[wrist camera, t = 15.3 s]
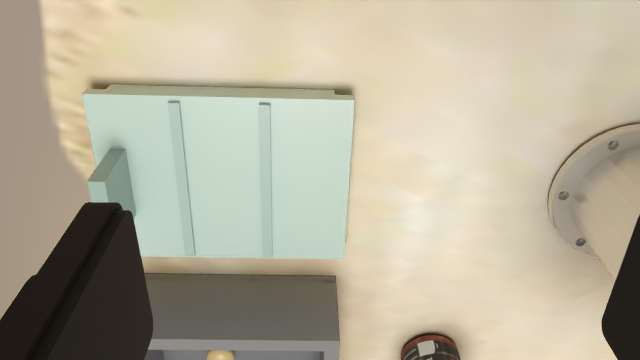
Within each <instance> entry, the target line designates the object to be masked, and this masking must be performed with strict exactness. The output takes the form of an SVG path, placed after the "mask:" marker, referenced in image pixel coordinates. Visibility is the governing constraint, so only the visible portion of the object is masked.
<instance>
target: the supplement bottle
mask: <svg viewBox="0 0 640 360" xmlns="http://www.w3.org/2000/svg"><path fill="white" fill-rule="evenodd" d="M401 360H461V359H460V356H459V353H458V349H457V347H456V345H455V344H454V343H453V342H452V341H451V340H449V339H447V338H445V337H443V336H438V335H426V336H421V337H418V338H416V339H414V340H412V341H411V342H409V343H408V344H407V345H406V346H405V347H404V349H403V351H402V354H401Z"/></svg>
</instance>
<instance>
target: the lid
mask: <svg viewBox="0 0 640 360" xmlns="http://www.w3.org/2000/svg"><path fill="white" fill-rule="evenodd" d="M82 97H83V102H84V107H85V112H86V117H87V122H88V127H89V133H90V138H91V143H92V148H93V153H94V158H95V163H96V169H95V171H94V172H93V174H92V175H91V177H90V178H89V180H88V181H87V184H88V188H89V193H90V198H91V202H118V203H120V204H121V206H122V208H123V210H129V211H131V213H132V215H133V218H134V223H135V228H136V234H137V239H138V244H139V249H140V254H141V256H146V257H214V258H282V259H344V251H345V236H346V221H347V207H348V192H349V177H350V162H351V147H352V132H353V117H354V103H355V99H354V95H335V90H328V89H287V88H245V87H204V86H162V85H121V84H110V85H109V86H108V87H107V89H86V90H85V91H84V92H83V93H82Z"/></svg>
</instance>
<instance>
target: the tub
mask: <svg viewBox="0 0 640 360" xmlns="http://www.w3.org/2000/svg"><path fill="white" fill-rule="evenodd" d="M144 275H145V280H146V285H147V290H148V295H149V300H150V305H151V310H152V316H153V334H152V339H151V342H150V345H149V348H148V351H147V353H146V356H145V359H144V360H339V345H340V337H339V320H338V304H337V287H336V276H288V275H216V274H144Z"/></svg>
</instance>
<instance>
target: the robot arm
mask: <svg viewBox="0 0 640 360" xmlns="http://www.w3.org/2000/svg"><path fill="white" fill-rule="evenodd" d="M548 209H549V216H550V219H551V221H552V224H553V226H554V227H555V229H556V230H557V232H558V234H559V235H560V236H561V237H562V238H563V239H564V241H565V242H566V243H567V244H569V245H570V246H572V247H573V248H575V249H577V250H580V251H582V252H585V253H588V254H594V255H597V256H598V257H599V259H600V260H601V262H602V263H603V264H604V266H605V267H606V269H607V270H608V271H609V273H610V274H611V275H612V277H613V278H614V280H615V284H614V286H613V289H612V292H611V295H610V298H609V301H608V303H607V306H606V309H605V312H604V315H603V318H602V331H603V335H604V337H605V339H606V341H607V343H608V344H609V346H610V347H611V349H612V351H613V352H614V354H615V356H616V357H617V359H618V360H640V124H634V125H627V126H623V127H620V128H616V129H613V130H610V131H608V132H606V133H603V134H601V135H599V136H597V137H595V138H593V139H592V140H590V141H589V142H587V143H586V144H584V145H583V146H581V147H580V148H579V149H578V150H577V151H576V152H575V153H574V154H573V155H571V156H570V157H569V159H568V160H567V161H566V162H565V163H564V165H563V166H562V167H561V168H560V170H559V172H558V174H557V175H556V177H555V179H554V181H553V184H552V186H551V189H550V192H549V200H548ZM152 334H153V316H152V310H151V305H150V300H149V295H148V290H147V285H146V280H145V275H144V269H143V264H142V259H141V254H140V249H139V244H138V239H137V234H136V228H135V223H134V218H133V215H132V213H131V211H129V210H123V208H122V206H121V204H120V203H118V202H88V203H85V204H84V205H83V206H82V208H81V209H80V211H79V212H78V214H77V215H76V217H75V218H74V220H73V221H72V223H71V224H70V226H69V227H68V229H67V230H66V232H65V233H64V235H63V236H62V238H61V239H60V241H59V242H58V244H57V245H56V246H55V248H54V249H53V251H52V252H51V254H50V255H49V257H48V259H47V260H46V261H45V263H44V264H43V266H42V267H41V269H40V270H39V272H38V273H37V274H36V275H34V276H32V277H31V278H30V279H29V280H28V281H27V282H26V283H25V285H24V286H23V288H22V289H21V291H20V292H19V293H18V295H17V296H16V298H15V299H14V301H13V302H12V304H11V305H10V307H9V308H8V309H7V311H6V312H5V314H4V315H3V317H2V318H1V320H0V360H144V359H145V356H146V353H147V351H148V348H149V345H150V342H151V339H152Z"/></svg>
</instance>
